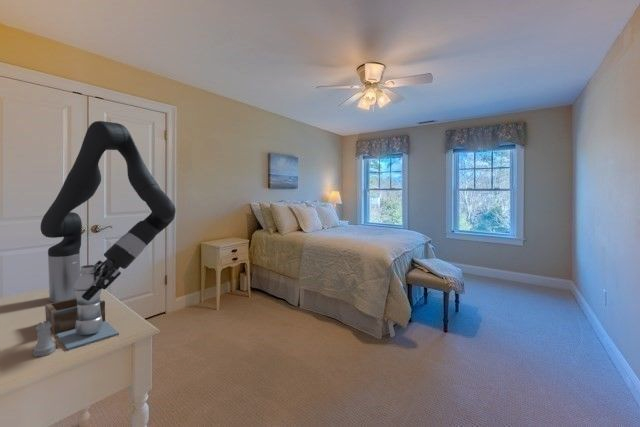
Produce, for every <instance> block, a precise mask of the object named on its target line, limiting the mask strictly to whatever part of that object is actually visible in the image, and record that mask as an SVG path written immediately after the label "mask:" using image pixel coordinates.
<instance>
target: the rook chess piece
mask: <svg viewBox="0 0 640 427" xmlns="http://www.w3.org/2000/svg"><path fill="white" fill-rule="evenodd" d="M51 326H52V324H51V323H50V321H47V323H46V320H44V321H43V323H42V322H41V321H40V322H38V323H37V324H36V327H35V330H36V331H37V332H36V335H37V340H36V344H35V347H34V348H33V349H32V351H33V354H32V355H33V356H35V357H38V358H39V357H45V356H48V355H51V354H52V353H54V352H55V351H56V350H57V349H56V348H57V347H56V343H55V342H54V340H53V339H52V336H51V332H52V330H51V329H50V328H51Z"/></svg>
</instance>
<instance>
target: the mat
mask: <svg viewBox="0 0 640 427" xmlns="http://www.w3.org/2000/svg"><path fill="white" fill-rule="evenodd" d="M119 335H120V333H119V332H118V331H117V329H115V328H114V327H113V326H112V325H111V324H110V323H109V322H107V321H106V320H105V321H103V325H102V328H101V330H100V331H99V332H97V333H94V334H91V335H79V334H77V333H76V330H75V329H73V330H69V331H66V332H62V333H58V334H57V335H56V337H57V338H58V339H57V340H59V341H60V343H61V344H62V345H63V346H64V348H65V350H66V351H70V350H75V349H77V348H80V347H83V346H84V347H85V346H87V345H90V344H93V343H97V342H100V341H104V340H106V339H110V338H113V337H117V336H119Z"/></svg>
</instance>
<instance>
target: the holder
mask: <svg viewBox="0 0 640 427" xmlns="http://www.w3.org/2000/svg"><path fill="white" fill-rule="evenodd" d="M44 306H45V307H44V308H45V321H46V323H47V321H50V323H51V324H52V326H51V328H50V330H51V332H52V333H53V335H54V336H57V334H58V333H62V332H66V331H69V330H73V329H75V322H76V319H77V298H74V299H69V300H64V301H59V302H50V303H45V305H44ZM100 309H101V316H102V320H103V321H106V301H105V300H104V299H103V300H101V299H100Z"/></svg>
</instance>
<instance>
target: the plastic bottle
mask: <svg viewBox="0 0 640 427" xmlns="http://www.w3.org/2000/svg"><path fill="white" fill-rule="evenodd" d="M96 272H97V270H96V265H95V264H87V265H82V266H81V265H80V277H79V278H78V280H77V281H76V282H75V285H74V288H75V293H76V298H77V319H76V322H75V330H76V333H77V334H79V335H91V334H94V333H97V332H99V331H100V330H101V328H102V325H103V320H102V316H101V309H100V300H101V293H102V290H99V291H98V292H97V293H96V294H95V295H94V296H93V297H92V298H91V299H90V300H89V301H87V300H85V299H83V298H82V295H83V294H84V293H85V292H86V291H87V290H88V289H89V288H90V287H91V286H93V284H94V282H95V281H96V276H97V275H96Z"/></svg>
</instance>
